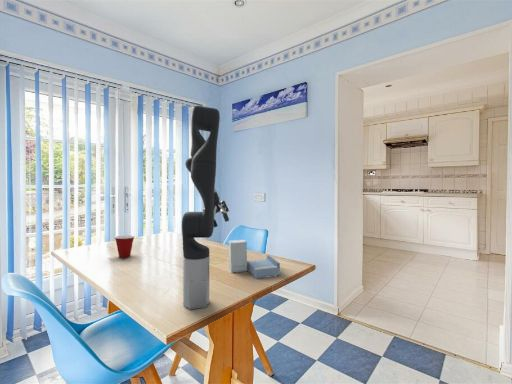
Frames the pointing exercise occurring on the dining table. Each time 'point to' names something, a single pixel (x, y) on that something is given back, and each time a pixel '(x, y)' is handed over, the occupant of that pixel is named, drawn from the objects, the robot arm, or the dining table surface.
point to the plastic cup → (124, 245)
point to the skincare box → (238, 255)
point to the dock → (264, 267)
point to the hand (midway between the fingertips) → (221, 223)
